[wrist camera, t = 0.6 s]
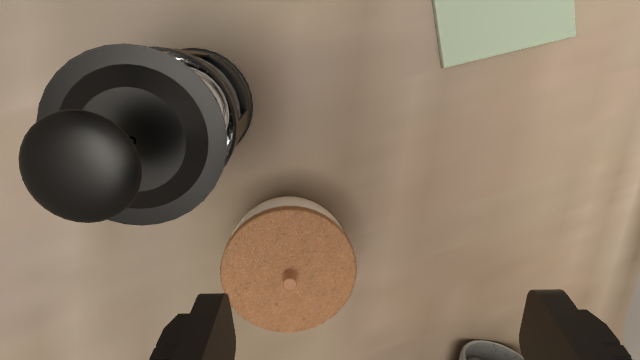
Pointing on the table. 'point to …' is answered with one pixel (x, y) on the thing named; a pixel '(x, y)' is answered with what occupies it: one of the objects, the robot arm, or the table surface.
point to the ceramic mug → (487, 351)
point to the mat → (498, 26)
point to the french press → (134, 133)
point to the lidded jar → (288, 265)
